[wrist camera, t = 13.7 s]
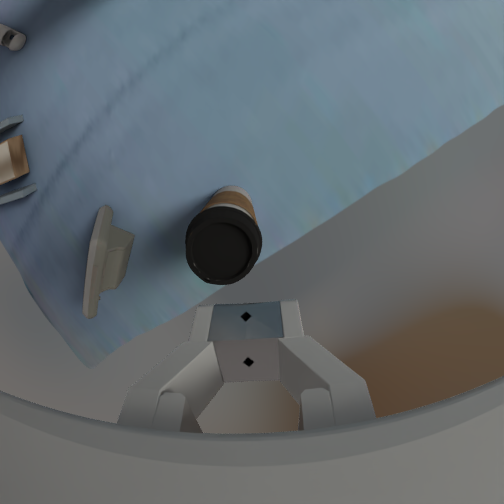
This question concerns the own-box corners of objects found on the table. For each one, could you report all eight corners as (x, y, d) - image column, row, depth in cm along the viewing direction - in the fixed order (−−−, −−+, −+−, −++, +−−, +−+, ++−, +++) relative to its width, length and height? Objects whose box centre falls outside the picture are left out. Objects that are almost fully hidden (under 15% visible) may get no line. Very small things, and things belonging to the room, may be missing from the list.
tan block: (-4, 149, 37) (-22, 156, 32) (26, 133, 36) (6, 139, 31) (3, 182, 40) (-14, 191, 35) (33, 169, 39) (15, 178, 35)
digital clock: (106, 197, 42) (73, 224, 33) (151, 227, 45) (127, 260, 35) (78, 266, 49) (51, 299, 39) (116, 291, 51) (94, 328, 42)
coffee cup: (194, 216, 44) (169, 268, 31) (218, 167, 40) (200, 200, 27) (244, 239, 46) (239, 299, 32) (271, 193, 42) (278, 238, 29)
